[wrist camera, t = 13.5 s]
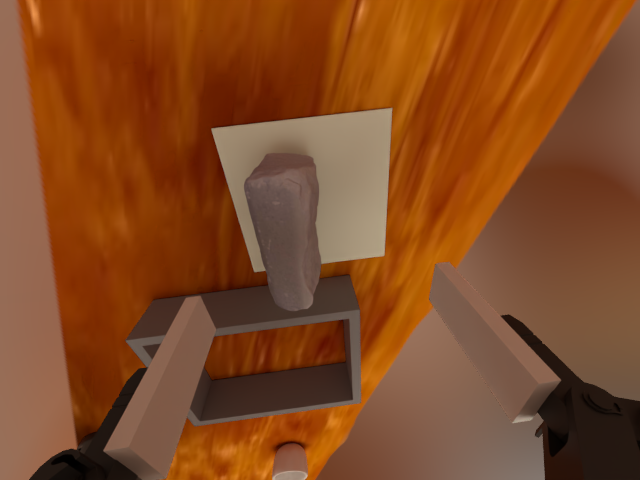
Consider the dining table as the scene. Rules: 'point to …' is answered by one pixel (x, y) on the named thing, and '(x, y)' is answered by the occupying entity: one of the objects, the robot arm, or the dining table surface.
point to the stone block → (286, 226)
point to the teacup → (290, 463)
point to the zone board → (321, 176)
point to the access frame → (269, 388)
